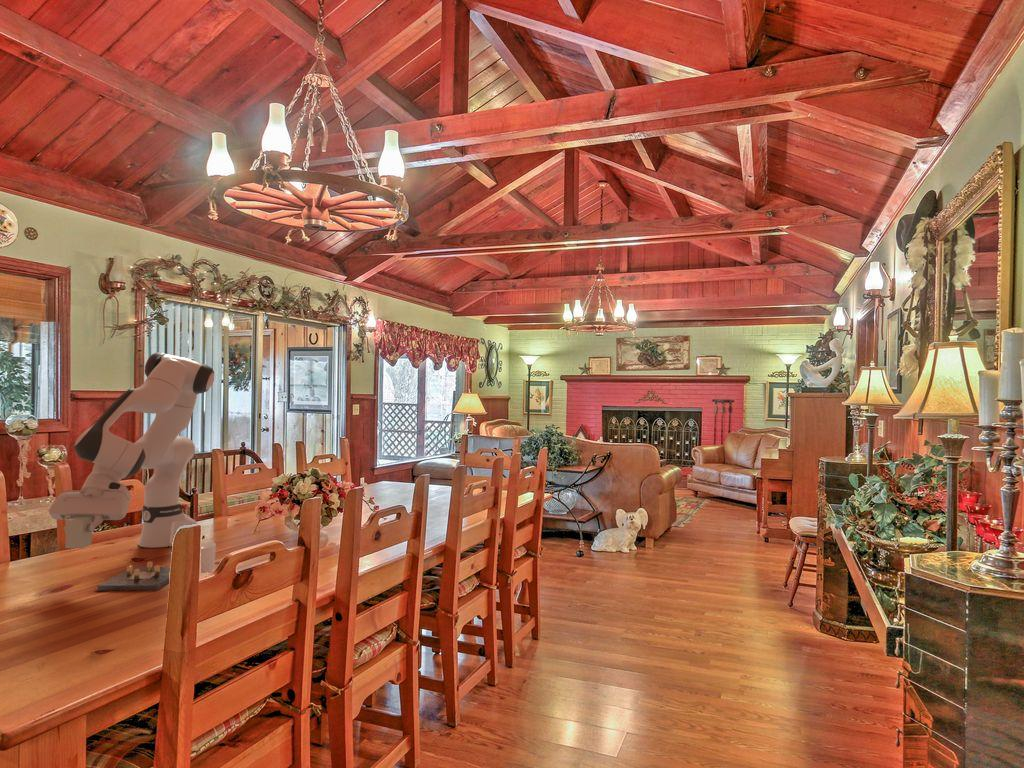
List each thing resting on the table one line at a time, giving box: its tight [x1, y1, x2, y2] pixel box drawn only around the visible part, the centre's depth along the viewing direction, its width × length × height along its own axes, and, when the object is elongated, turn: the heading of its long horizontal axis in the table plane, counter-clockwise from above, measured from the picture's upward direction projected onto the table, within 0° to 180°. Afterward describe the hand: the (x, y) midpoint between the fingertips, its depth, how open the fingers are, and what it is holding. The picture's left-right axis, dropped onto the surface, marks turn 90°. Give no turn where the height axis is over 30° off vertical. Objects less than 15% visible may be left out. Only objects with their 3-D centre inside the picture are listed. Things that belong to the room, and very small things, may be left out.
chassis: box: [97, 561, 171, 592], centre depth 187 cm, size 18×16×4 cm
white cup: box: [200, 541, 217, 577], centre depth 191 cm, size 8×8×10 cm
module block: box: [65, 517, 93, 549], centre depth 179 cm, size 4×4×8 cm
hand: (77, 530), depth 179 cm, fingers closed on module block, 4 cm apart
